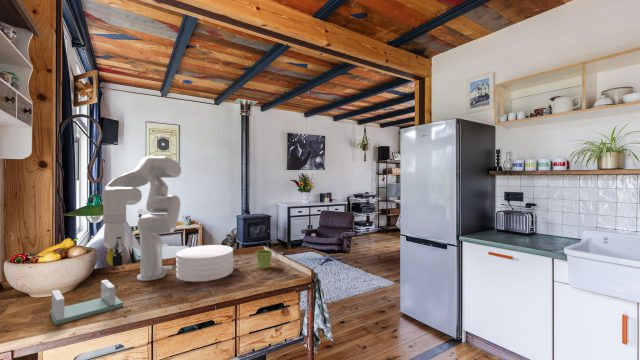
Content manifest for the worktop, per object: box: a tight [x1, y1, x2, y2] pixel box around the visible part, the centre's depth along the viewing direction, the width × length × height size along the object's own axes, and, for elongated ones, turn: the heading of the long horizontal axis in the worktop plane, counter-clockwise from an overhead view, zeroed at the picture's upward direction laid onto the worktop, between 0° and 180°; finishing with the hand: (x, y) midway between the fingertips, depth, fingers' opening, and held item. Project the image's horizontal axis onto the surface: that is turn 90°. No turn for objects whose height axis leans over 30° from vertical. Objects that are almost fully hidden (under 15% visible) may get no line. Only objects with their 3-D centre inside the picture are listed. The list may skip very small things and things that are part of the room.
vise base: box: [49, 289, 124, 326], centre depth 114 cm, size 20×12×8 cm, turn 138°
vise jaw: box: [100, 279, 116, 306], centre depth 118 cm, size 2×12×7 cm, turn 48°
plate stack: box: [175, 244, 234, 282], centre depth 159 cm, size 28×28×12 cm
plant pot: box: [254, 249, 273, 270], centre depth 167 cm, size 9×9×9 cm
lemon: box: [106, 246, 124, 267], centre depth 120 cm, size 6×6×8 cm
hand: (114, 263), depth 120 cm, fingers closed on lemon, 5 cm apart
